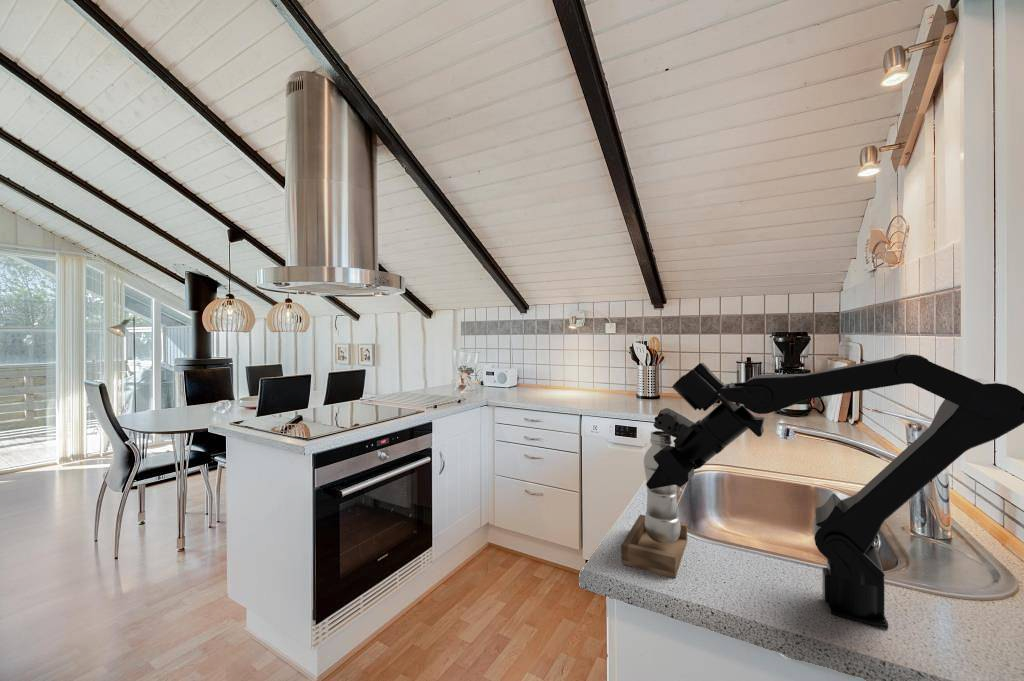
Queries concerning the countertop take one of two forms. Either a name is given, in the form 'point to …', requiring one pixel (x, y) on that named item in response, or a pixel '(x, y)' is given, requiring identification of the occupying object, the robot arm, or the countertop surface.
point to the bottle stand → (652, 550)
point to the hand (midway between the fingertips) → (654, 481)
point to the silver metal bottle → (660, 497)
